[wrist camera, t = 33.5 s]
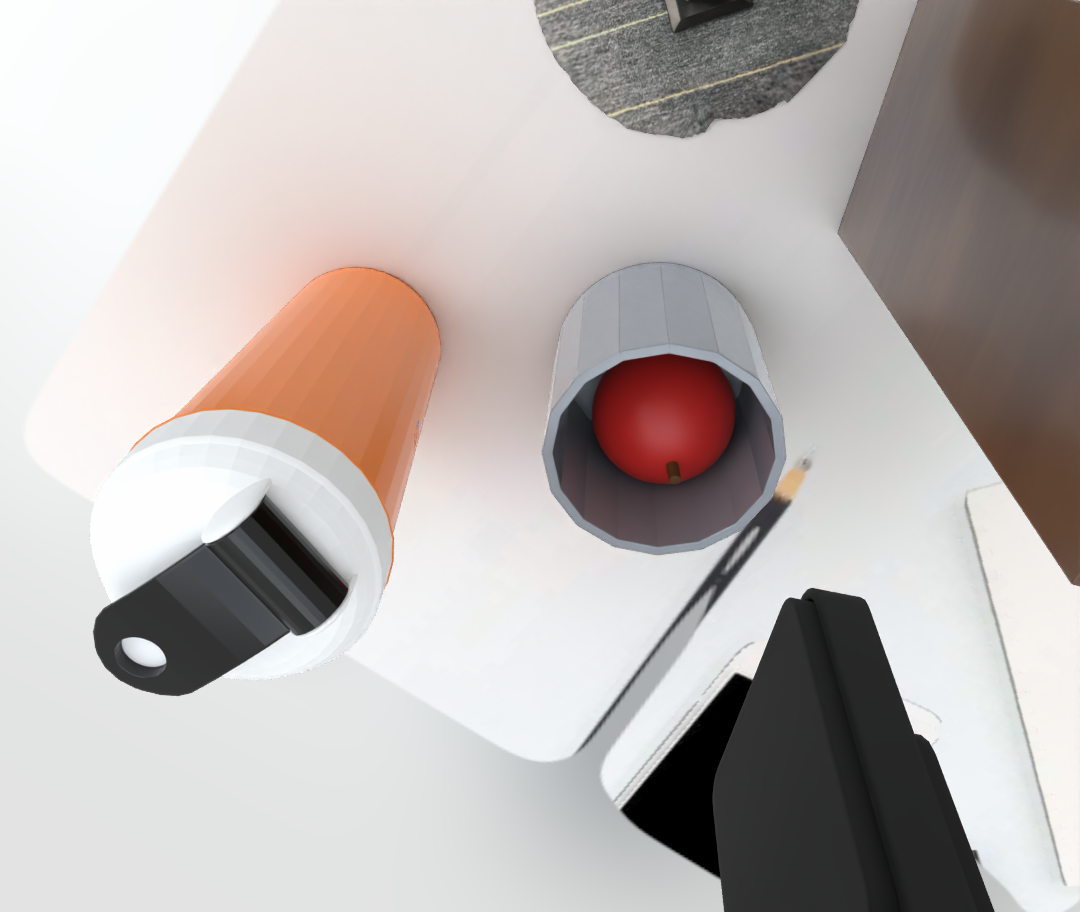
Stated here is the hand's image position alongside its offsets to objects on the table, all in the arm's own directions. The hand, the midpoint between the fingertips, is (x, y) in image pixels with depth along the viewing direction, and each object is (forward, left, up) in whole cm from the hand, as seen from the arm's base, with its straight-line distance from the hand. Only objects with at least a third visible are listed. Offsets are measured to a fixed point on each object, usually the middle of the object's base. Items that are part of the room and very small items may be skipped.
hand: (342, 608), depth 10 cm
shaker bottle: (+12, -6, -32) cm, 35 cm away
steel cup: (+10, +7, -32) cm, 35 cm away
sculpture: (-6, +5, -32) cm, 33 cm away
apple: (+10, +7, -32) cm, 34 cm away
